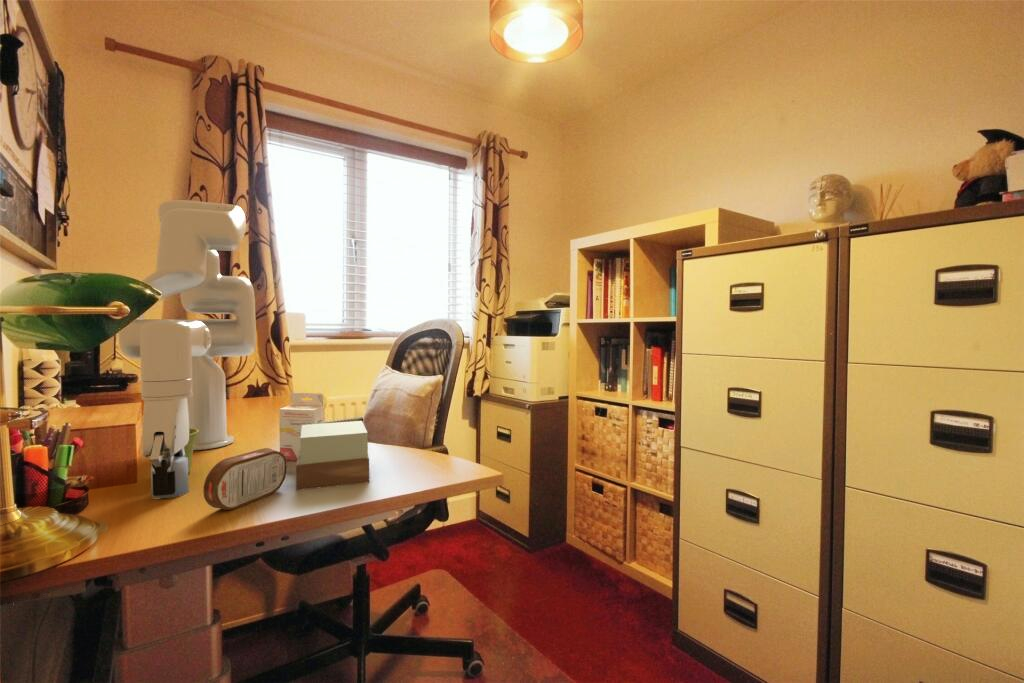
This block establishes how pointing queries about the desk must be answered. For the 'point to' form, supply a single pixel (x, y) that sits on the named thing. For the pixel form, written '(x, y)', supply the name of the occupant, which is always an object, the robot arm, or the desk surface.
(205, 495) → the tin
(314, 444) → the sage top block
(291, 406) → the ink cartridge box
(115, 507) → the desk surface
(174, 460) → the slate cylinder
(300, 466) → the walnut base block
